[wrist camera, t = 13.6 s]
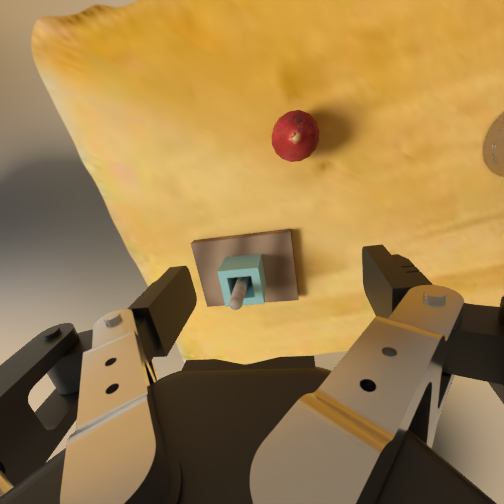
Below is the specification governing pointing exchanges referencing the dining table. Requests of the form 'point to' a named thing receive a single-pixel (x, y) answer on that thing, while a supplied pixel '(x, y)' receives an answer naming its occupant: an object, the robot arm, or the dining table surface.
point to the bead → (242, 268)
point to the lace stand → (275, 269)
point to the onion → (295, 136)
